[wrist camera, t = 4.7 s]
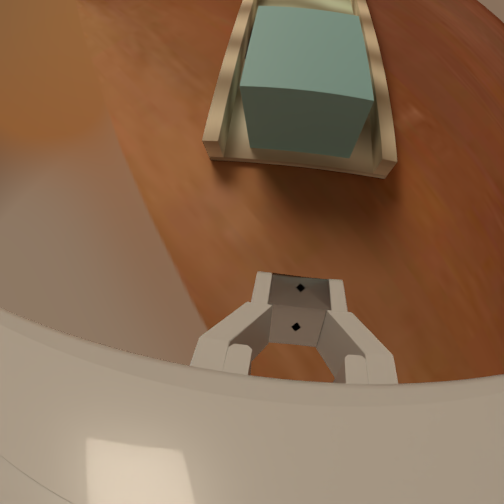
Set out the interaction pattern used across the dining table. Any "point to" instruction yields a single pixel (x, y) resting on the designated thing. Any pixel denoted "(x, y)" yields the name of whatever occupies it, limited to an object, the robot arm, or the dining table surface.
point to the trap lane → (238, 149)
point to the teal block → (306, 81)
